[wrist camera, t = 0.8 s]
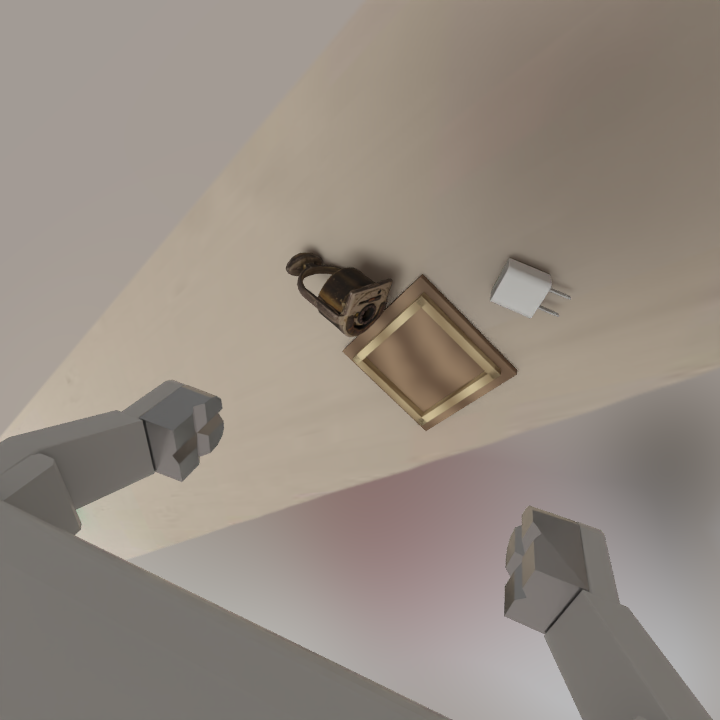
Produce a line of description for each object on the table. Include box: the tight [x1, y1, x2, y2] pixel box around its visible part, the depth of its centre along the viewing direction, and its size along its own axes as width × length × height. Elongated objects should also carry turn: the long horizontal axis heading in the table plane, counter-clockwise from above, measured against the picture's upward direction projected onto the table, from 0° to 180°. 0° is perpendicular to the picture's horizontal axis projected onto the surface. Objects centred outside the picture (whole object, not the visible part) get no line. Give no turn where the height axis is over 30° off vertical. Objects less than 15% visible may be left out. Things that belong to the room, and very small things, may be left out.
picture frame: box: [342, 274, 517, 431], centre depth 49 cm, size 15×16×2 cm
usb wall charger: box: [490, 258, 571, 318], centre depth 40 cm, size 4×7×4 cm, turn 73°
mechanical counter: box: [286, 253, 392, 337], centre depth 44 cm, size 7×13×10 cm, turn 88°
